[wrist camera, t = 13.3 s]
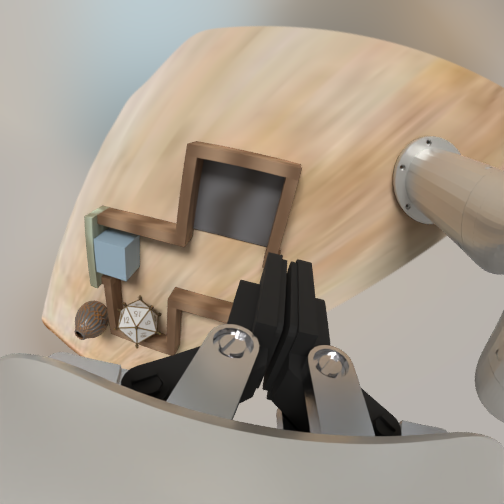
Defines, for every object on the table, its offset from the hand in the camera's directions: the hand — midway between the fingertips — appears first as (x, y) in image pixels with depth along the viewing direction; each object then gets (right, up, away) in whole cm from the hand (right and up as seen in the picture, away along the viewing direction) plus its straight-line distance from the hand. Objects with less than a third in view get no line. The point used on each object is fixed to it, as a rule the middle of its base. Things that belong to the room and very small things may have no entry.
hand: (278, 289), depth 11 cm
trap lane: (-12, 0, +33) cm, 35 cm away
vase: (-33, -10, +41) cm, 54 cm away
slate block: (-22, +2, +33) cm, 40 cm away
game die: (-21, -9, +39) cm, 45 cm away
